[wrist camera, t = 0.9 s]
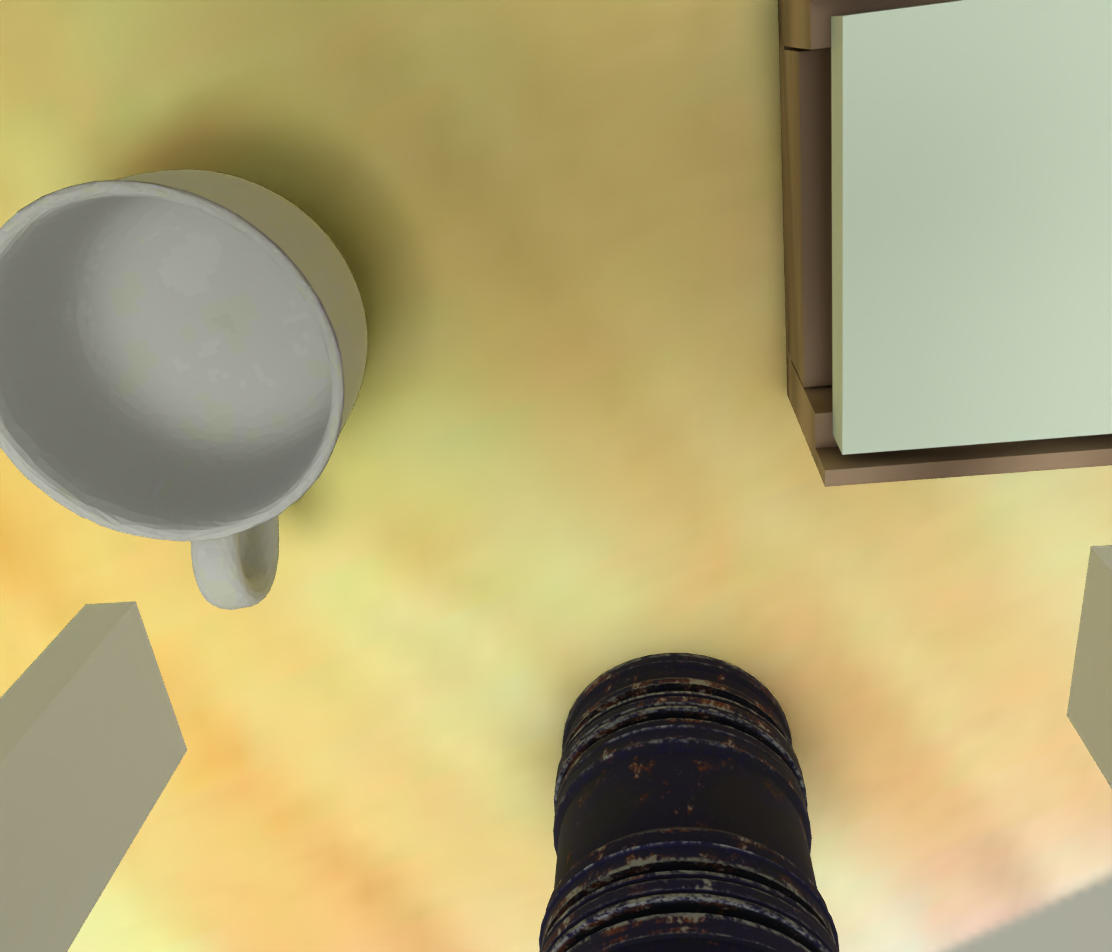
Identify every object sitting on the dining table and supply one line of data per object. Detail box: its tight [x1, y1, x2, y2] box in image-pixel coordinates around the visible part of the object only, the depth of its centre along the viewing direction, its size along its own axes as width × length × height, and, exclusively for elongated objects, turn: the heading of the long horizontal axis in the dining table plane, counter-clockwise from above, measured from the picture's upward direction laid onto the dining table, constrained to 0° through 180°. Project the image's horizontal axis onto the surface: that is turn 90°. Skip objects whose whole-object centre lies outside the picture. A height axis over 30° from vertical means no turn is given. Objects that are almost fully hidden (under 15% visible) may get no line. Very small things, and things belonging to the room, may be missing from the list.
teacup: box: [0, 169, 368, 610], centre depth 32 cm, size 14×11×8 cm
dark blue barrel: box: [539, 653, 839, 952], centre depth 35 cm, size 10×10×15 cm
